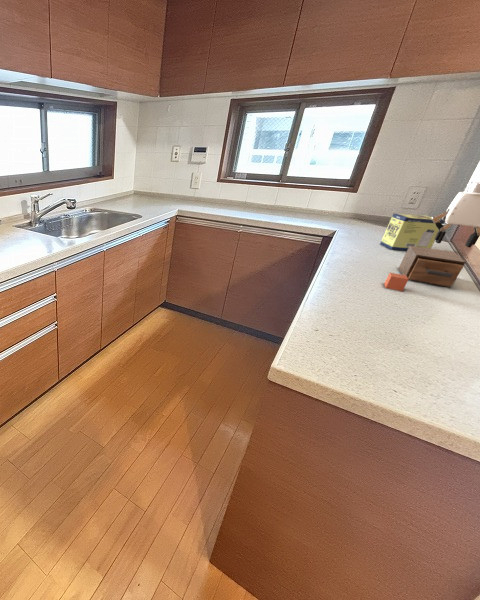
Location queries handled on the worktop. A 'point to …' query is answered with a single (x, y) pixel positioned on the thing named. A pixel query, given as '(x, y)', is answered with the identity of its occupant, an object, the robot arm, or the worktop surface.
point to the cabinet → (427, 253)
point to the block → (396, 281)
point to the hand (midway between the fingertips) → (452, 244)
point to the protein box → (410, 232)
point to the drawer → (435, 271)
